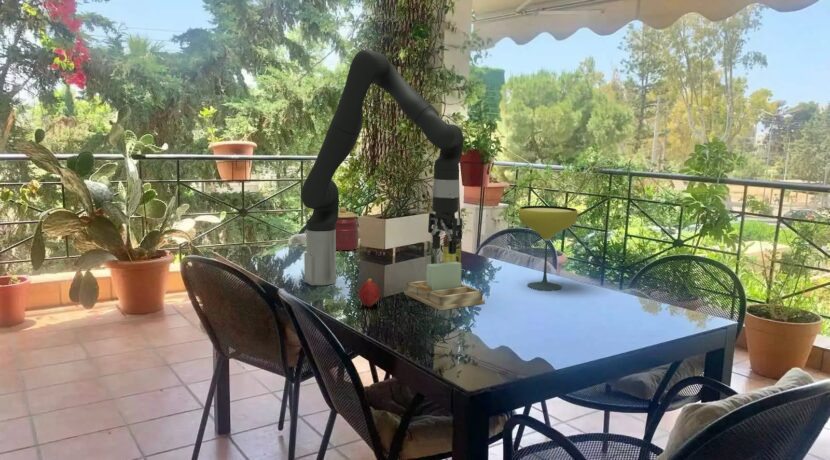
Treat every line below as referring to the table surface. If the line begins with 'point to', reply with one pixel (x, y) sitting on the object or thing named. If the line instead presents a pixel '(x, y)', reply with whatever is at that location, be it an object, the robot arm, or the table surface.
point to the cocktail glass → (547, 231)
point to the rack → (444, 296)
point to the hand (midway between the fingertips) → (444, 251)
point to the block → (443, 276)
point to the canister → (346, 230)
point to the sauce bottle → (451, 257)
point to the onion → (369, 293)
